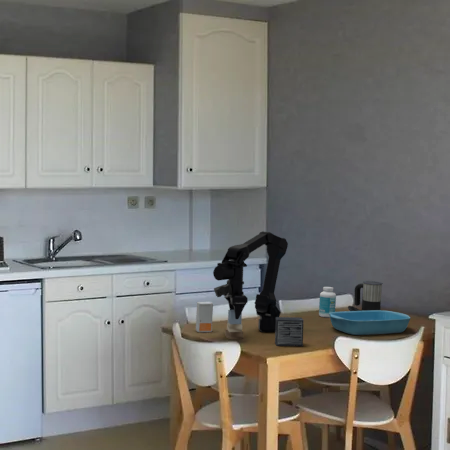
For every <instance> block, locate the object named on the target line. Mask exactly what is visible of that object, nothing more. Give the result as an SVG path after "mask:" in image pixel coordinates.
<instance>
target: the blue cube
mask: <svg viewBox="0 0 450 450" xmlns="http://www.w3.org/2000/svg"><path fill="white" fill-rule="evenodd" d="M227 311H228V312H227V313H228V314H227V322H228V323H230V324H242V321H243V319H242V318H243V312H242V313H241V315H240V317H239V319H235V312H234V310H230V309H228V310H227Z"/></svg>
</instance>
